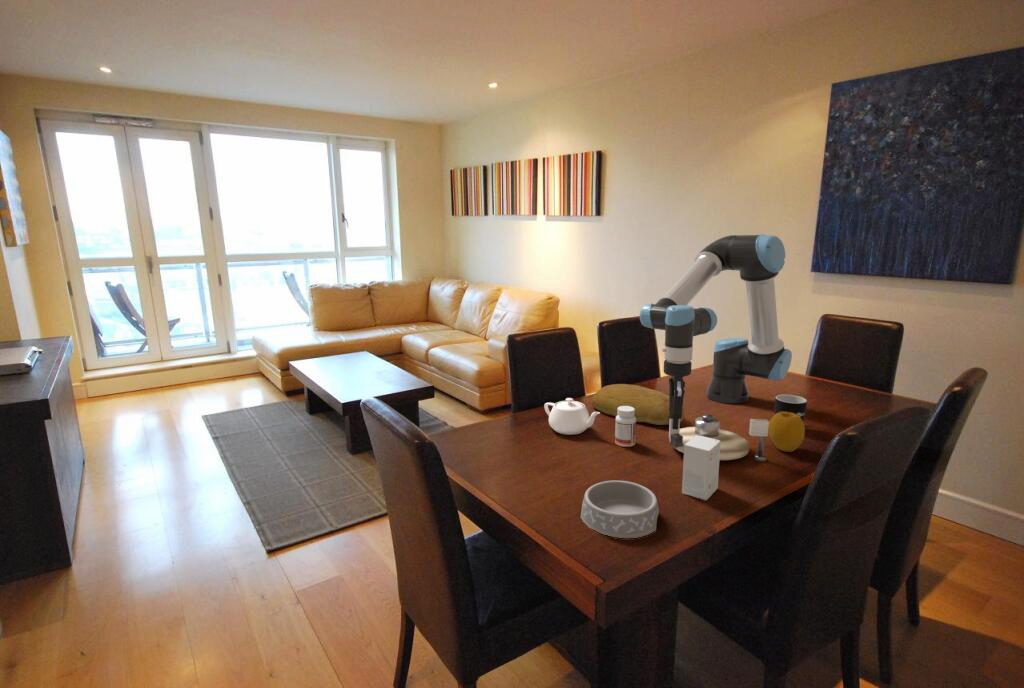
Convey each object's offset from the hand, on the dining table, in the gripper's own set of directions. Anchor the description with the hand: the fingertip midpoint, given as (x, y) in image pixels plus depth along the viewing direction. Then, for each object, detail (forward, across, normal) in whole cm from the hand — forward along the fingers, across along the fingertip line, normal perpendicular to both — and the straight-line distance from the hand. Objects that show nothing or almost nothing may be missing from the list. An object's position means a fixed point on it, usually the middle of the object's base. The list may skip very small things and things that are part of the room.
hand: (673, 438), depth 152 cm
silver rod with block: (+4, +2, +23) cm, 24 cm away
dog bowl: (+4, +38, -17) cm, 42 cm away
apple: (+5, -6, +32) cm, 33 cm away
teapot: (+5, -14, -31) cm, 34 cm away
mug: (+5, -24, +40) cm, 47 cm away
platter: (+3, -2, +10) cm, 10 cm away
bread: (+5, -32, -8) cm, 34 cm away
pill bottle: (+5, -4, -14) cm, 15 cm away
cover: (+1, -8, +11) cm, 14 cm away
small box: (+4, +24, +3) cm, 24 cm away
